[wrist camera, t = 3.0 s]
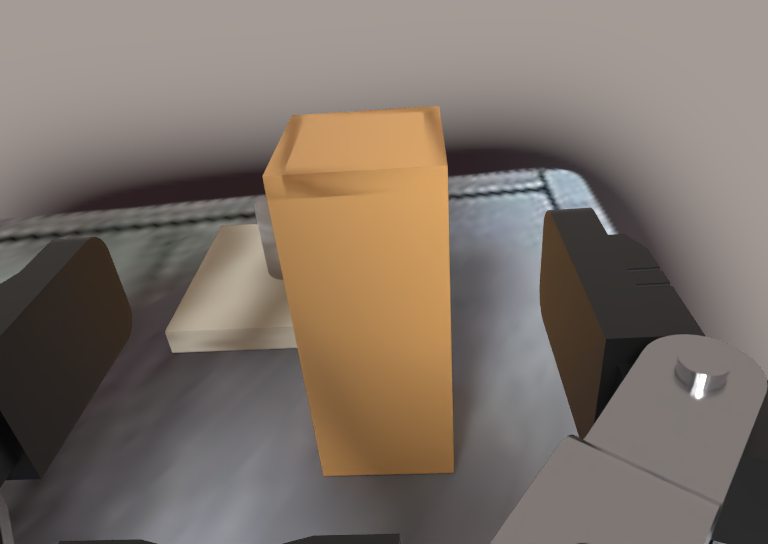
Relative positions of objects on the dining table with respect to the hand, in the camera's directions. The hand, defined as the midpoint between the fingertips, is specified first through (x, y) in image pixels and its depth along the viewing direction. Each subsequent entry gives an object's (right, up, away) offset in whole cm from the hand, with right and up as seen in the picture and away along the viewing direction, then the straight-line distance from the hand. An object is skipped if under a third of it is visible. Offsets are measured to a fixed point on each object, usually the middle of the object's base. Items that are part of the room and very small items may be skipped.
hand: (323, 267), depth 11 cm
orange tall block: (+1, -7, +17) cm, 19 cm away
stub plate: (-5, -1, +27) cm, 28 cm away
